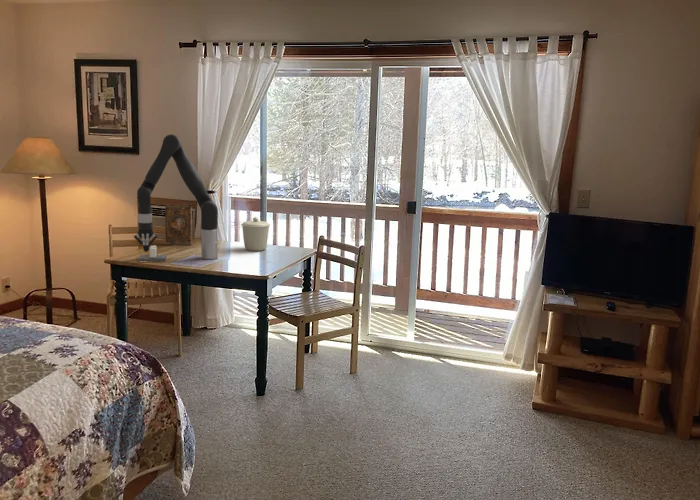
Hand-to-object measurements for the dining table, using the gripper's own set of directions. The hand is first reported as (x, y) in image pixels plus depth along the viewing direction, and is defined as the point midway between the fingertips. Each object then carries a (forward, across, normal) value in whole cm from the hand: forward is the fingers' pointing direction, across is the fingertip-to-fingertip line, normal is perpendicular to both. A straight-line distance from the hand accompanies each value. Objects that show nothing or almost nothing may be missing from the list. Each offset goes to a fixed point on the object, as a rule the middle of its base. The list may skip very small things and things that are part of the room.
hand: (146, 251), depth 318 cm
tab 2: (+2, -4, +6) cm, 7 cm away
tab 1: (+2, -4, 0) cm, 4 cm away
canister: (+5, -63, -26) cm, 68 cm away
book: (+5, -15, -42) cm, 45 cm away
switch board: (+4, -4, +3) cm, 6 cm away
